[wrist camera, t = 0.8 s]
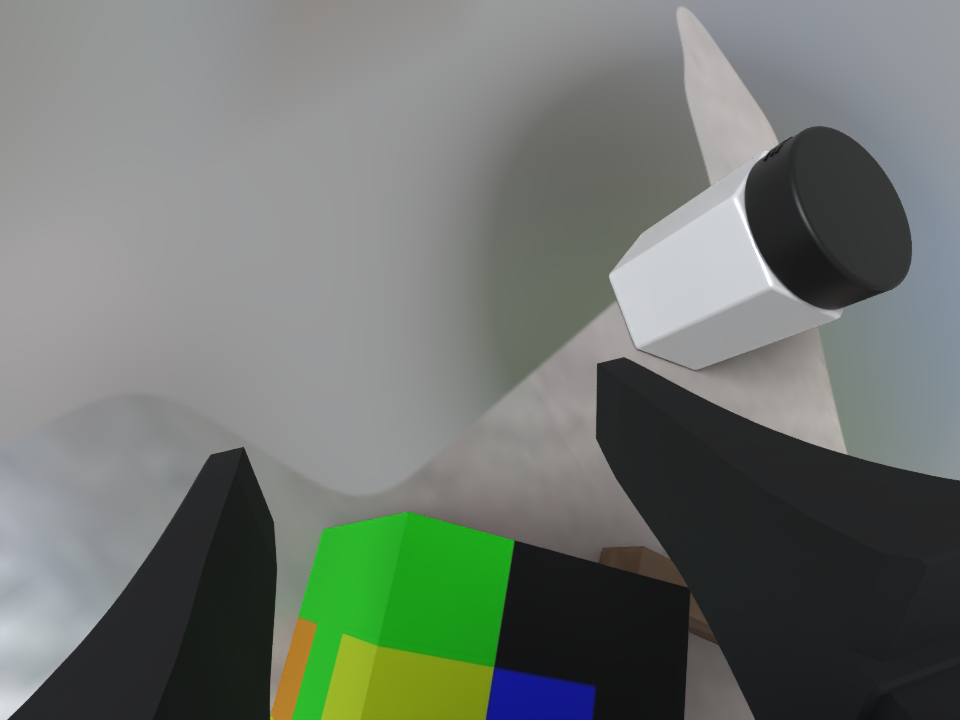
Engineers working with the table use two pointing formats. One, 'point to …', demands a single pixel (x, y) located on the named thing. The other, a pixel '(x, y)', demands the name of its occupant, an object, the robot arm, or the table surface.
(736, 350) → the jar
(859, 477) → the robot arm
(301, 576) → the table surface
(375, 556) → the puzzle toy
